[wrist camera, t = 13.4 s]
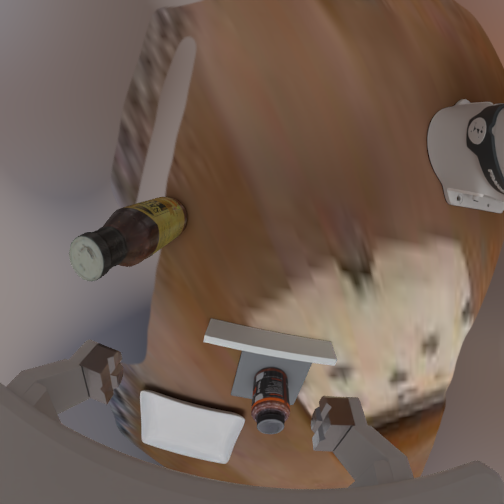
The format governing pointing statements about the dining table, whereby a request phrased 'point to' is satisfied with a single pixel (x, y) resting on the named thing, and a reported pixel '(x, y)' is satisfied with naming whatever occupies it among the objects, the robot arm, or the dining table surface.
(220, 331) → the acrylic wall
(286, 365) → the rubber mat
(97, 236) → the sauce bottle
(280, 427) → the supplement bottle
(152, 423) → the salad plate
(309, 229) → the dining table surface
